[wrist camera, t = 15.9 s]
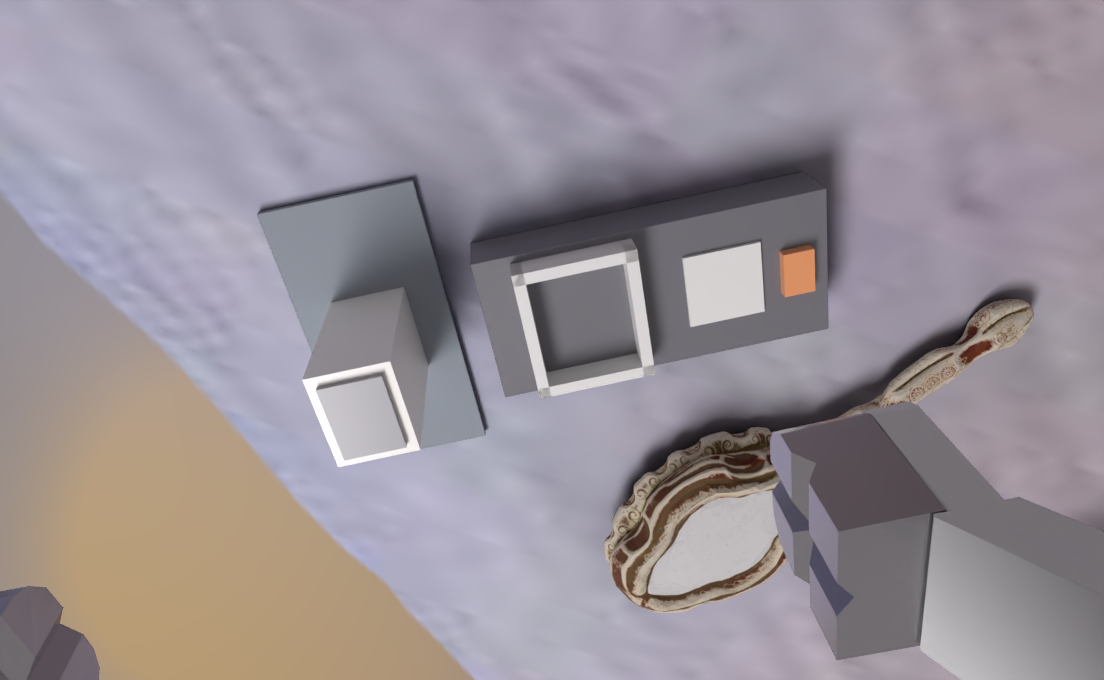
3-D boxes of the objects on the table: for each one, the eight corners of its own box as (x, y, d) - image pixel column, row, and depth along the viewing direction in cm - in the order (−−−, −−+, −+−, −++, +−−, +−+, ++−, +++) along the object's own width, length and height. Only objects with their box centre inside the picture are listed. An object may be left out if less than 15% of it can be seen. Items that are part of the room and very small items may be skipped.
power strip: (470, 243, 41) (470, 277, 37) (803, 171, 40) (839, 198, 37) (503, 369, 44) (506, 412, 41) (807, 304, 44) (840, 341, 40)
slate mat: (258, 212, 39) (256, 214, 38) (413, 178, 39) (412, 181, 38) (356, 458, 46) (355, 462, 46) (485, 431, 46) (485, 435, 46)
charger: (331, 302, 41) (300, 383, 34) (403, 286, 41) (389, 364, 34) (359, 379, 43) (337, 471, 36) (428, 365, 43) (419, 453, 36)
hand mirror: (1081, 386, 46) (677, 658, 50) (1007, 332, 51) (643, 585, 55) (1055, 274, 40) (594, 597, 44) (973, 224, 44) (563, 521, 48)
